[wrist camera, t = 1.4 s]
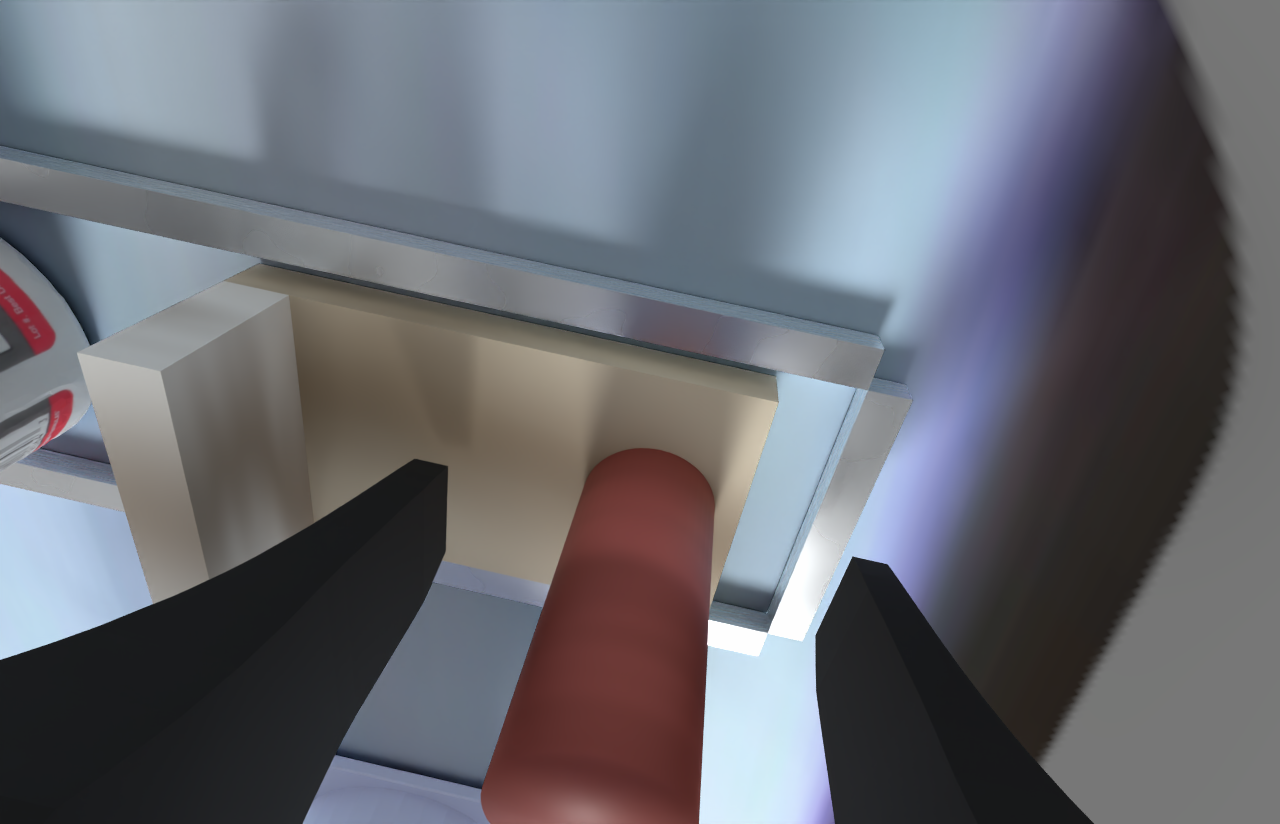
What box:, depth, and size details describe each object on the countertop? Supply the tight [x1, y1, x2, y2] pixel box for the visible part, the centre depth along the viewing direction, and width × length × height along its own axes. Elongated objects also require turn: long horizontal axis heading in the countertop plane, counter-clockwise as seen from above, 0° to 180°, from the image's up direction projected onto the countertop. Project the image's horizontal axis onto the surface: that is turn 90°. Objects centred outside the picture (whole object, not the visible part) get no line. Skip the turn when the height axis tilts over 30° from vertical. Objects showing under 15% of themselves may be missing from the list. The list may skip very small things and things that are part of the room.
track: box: [0, 146, 913, 656], centre depth 14 cm, size 8×22×1 cm, turn 81°
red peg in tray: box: [77, 264, 779, 824], centre depth 11 cm, size 6×10×7 cm, turn 81°
